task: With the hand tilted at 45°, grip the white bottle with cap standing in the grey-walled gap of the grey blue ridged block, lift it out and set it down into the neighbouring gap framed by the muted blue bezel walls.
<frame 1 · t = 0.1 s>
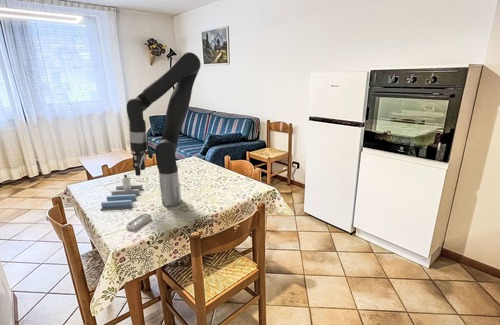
hand: (140, 172, 133), 17 cm above the table, tool pointing down, fingers open, 8 cm apart
white bottle with cap: (127, 192, 151), point 1 cm above the table, touching grey blue ridged block
multiport hub: (139, 224, 120), on the table
grey blue ridged block: (124, 198, 144), on the table
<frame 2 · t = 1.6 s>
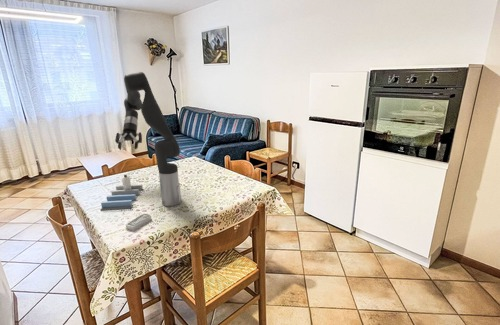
hand: (127, 148, 155), 23 cm above the table, tool tilted 45°, fingers open, 8 cm apart
nothing on the table moved.
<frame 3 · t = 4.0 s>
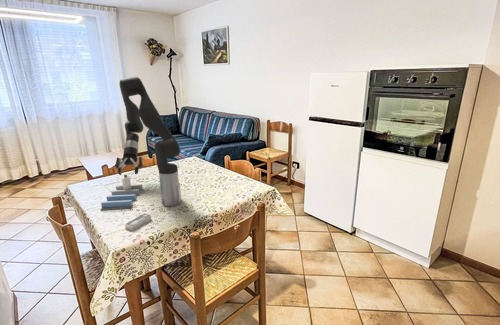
hand: (127, 174, 152), 10 cm above the table, tool tilted 45°, fingers open, 8 cm apart
nothing on the table moved.
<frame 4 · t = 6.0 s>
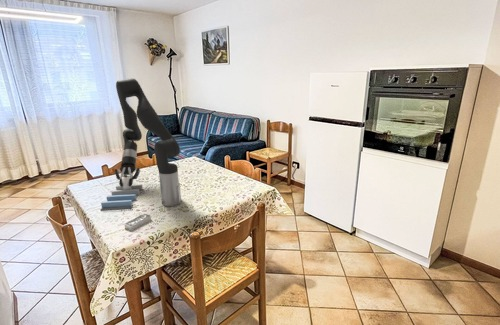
hand: (125, 185, 147), 6 cm above the table, tool tilted 45°, fingers closed on white bottle with cap, 4 cm apart
white bottle with cap: (127, 192, 151), point 1 cm above the table, touching grey blue ridged block, gripper
everything else where it was.
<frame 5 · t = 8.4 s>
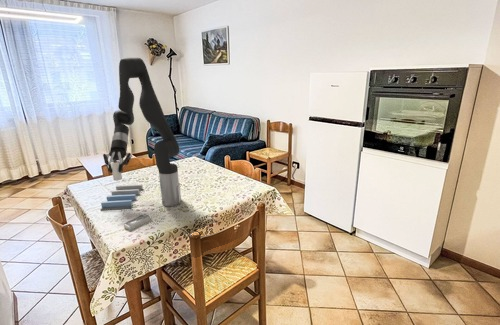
hand: (115, 171, 133), 18 cm above the table, tool tilted 45°, fingers closed on white bottle with cap, 4 cm apart
white bottle with cap: (117, 179, 136), point 13 cm above the table, touching gripper
everything else where it was.
when the fingers open (7 cm above the table, at t = 11.1 s): white bottle with cap drops 1 cm, resting on grey blue ridged block.
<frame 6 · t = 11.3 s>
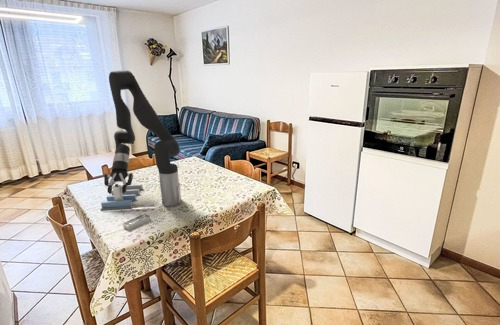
hand: (116, 193, 134), 7 cm above the table, tool tilted 45°, fingers open, 6 cm apart
white bottle with cap: (119, 202, 137), point 1 cm above the table, touching grey blue ridged block
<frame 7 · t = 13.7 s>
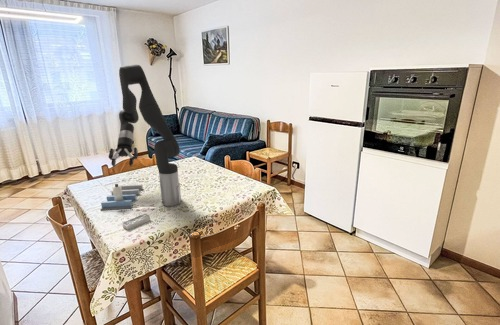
hand: (122, 165, 143), 17 cm above the table, tool tilted 45°, fingers open, 8 cm apart
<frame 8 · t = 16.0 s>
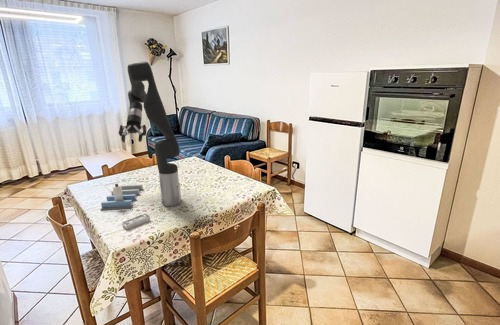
hand: (131, 141, 148), 29 cm above the table, tool tilted 45°, fingers open, 8 cm apart
at the end: white bottle with cap 0.1 cm from the target spot on the grey blue ridged block, point 1.1 cm above the grey blue ridged block's base; white bottle with cap tilted 2°; the gripper is holding nothing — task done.
